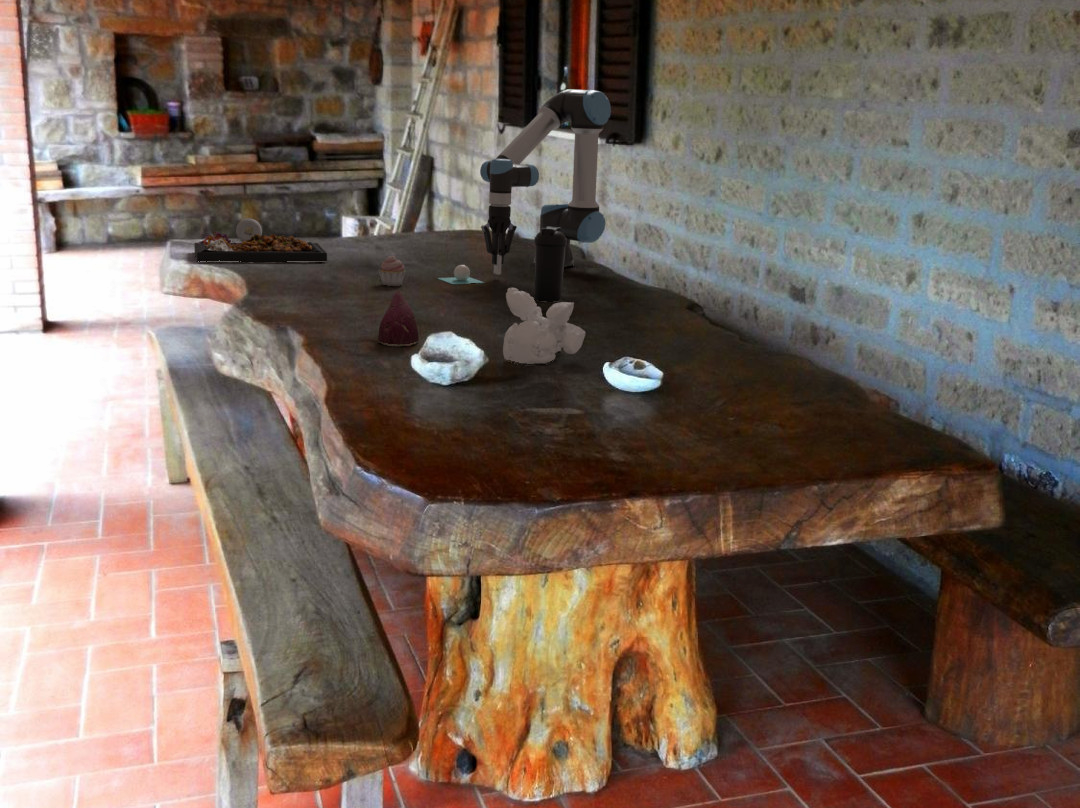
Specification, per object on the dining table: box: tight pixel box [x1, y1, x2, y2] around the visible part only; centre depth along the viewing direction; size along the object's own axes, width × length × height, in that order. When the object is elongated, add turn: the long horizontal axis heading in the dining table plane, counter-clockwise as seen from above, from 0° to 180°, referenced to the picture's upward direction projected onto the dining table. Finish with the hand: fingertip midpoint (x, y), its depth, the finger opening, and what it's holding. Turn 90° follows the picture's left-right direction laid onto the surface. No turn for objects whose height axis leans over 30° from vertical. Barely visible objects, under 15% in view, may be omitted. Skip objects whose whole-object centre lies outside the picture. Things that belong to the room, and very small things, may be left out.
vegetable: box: [377, 289, 420, 345], centre depth 293 cm, size 10×10×15 cm
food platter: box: [193, 227, 328, 263], centre depth 417 cm, size 45×25×10 cm, turn 108°
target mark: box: [436, 276, 485, 286], centre depth 390 cm, size 12×12×1 cm
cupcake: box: [378, 254, 407, 287], centre depth 375 cm, size 9×9×10 cm
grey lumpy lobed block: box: [502, 286, 586, 364], centre depth 283 cm, size 19×20×20 cm
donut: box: [235, 218, 263, 243], centre depth 449 cm, size 10×4×10 cm, turn 104°
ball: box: [453, 264, 471, 281], centre depth 390 cm, size 6×6×6 cm
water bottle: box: [533, 227, 567, 302], centre depth 360 cm, size 10×10×23 cm
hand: (497, 273), depth 397 cm, fingers closed
